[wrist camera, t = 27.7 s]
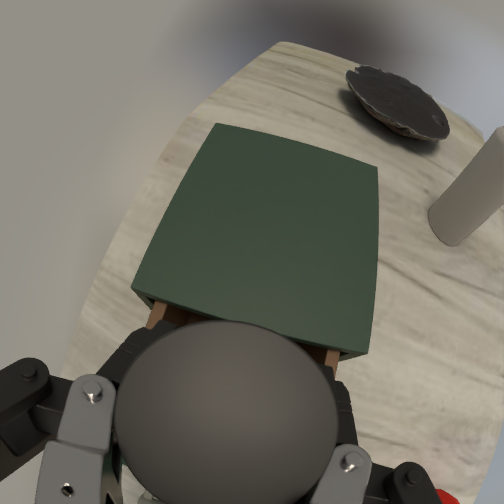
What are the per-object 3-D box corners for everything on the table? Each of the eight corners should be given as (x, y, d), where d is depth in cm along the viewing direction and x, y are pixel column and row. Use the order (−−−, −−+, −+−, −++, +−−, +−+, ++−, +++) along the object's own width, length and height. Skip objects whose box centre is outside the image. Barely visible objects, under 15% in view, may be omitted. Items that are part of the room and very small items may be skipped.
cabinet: (315, 367, 23) (368, 354, 14) (165, 325, 23) (129, 287, 14) (338, 230, 29) (377, 167, 20) (216, 196, 30) (215, 122, 21)
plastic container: (168, 429, 12) (94, 477, 4) (194, 345, 14) (151, 290, 6) (261, 455, 12) (304, 534, 4) (285, 370, 14) (359, 347, 6)
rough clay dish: (455, 146, 42) (467, 129, 37) (403, 170, 35) (419, 146, 31) (382, 81, 49) (389, 64, 45) (312, 88, 43) (318, 64, 38)
